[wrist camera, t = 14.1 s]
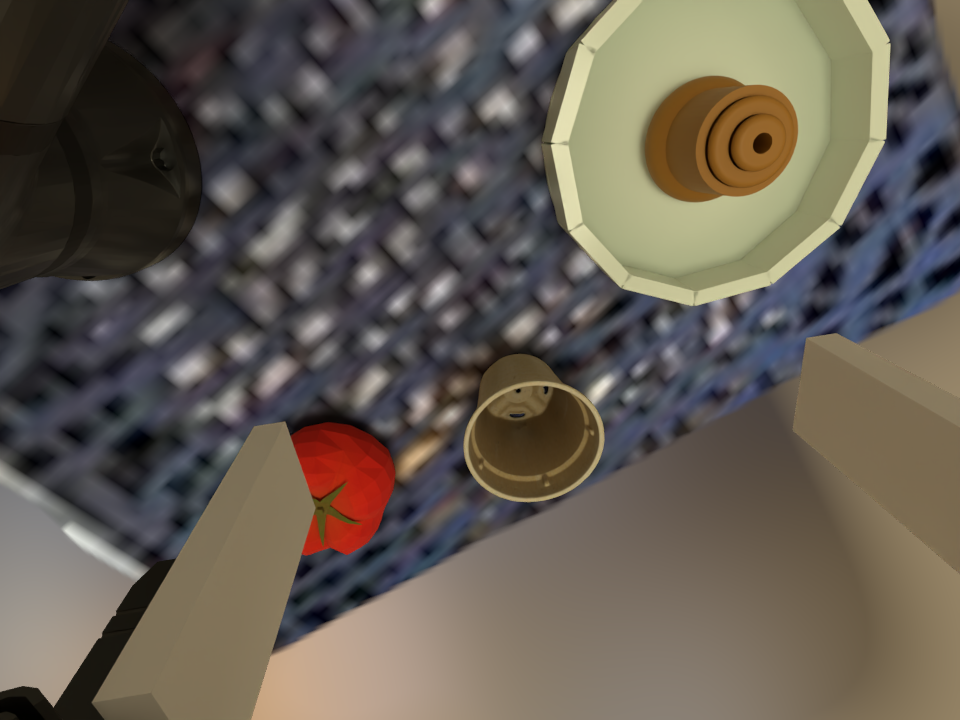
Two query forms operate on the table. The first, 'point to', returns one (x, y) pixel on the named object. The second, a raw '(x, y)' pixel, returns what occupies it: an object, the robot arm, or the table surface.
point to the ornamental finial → (720, 139)
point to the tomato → (343, 484)
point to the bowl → (725, 220)
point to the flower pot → (531, 432)
